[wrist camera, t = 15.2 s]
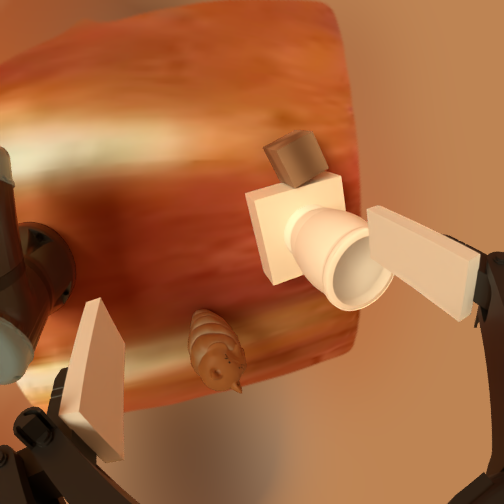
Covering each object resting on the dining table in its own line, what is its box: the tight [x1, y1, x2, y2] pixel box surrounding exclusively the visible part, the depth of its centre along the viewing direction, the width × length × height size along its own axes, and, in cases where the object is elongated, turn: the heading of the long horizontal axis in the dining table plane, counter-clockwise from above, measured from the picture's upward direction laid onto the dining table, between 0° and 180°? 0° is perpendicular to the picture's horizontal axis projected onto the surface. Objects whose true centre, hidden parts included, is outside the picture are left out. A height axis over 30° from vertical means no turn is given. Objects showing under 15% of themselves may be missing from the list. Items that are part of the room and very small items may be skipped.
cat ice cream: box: [188, 309, 246, 393], centre depth 47 cm, size 9×8×18 cm
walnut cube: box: [263, 130, 329, 188], centre depth 46 cm, size 6×6×6 cm
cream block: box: [245, 171, 346, 285], centre depth 51 cm, size 14×14×5 cm
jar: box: [284, 204, 394, 311], centre depth 42 cm, size 11×10×15 cm
